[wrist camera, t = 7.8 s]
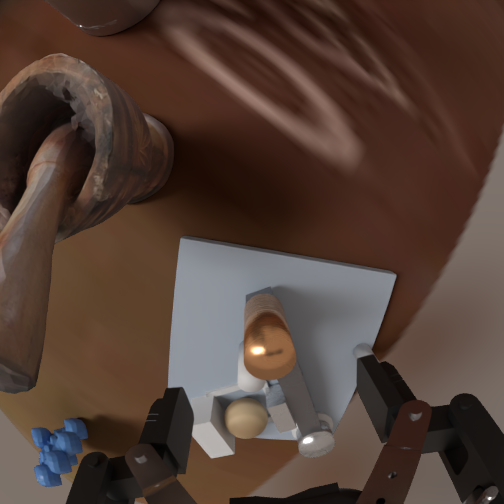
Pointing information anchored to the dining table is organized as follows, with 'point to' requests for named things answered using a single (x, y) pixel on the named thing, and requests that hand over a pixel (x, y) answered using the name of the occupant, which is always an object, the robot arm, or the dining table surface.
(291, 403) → the lever
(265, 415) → the hazelnut
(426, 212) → the dining table surface
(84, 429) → the blue lumpy cluster
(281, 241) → the dining table surface
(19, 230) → the mortar and pestle
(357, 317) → the nutcracker base
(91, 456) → the robot arm
